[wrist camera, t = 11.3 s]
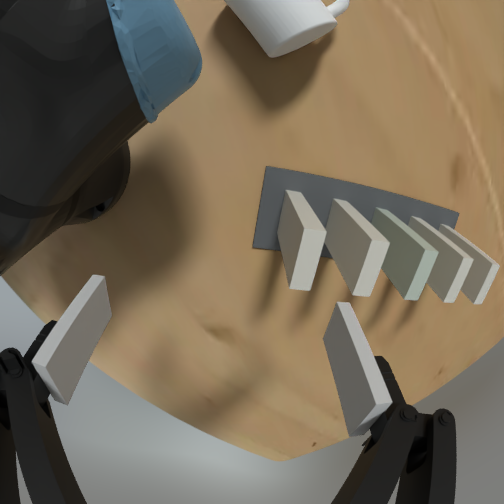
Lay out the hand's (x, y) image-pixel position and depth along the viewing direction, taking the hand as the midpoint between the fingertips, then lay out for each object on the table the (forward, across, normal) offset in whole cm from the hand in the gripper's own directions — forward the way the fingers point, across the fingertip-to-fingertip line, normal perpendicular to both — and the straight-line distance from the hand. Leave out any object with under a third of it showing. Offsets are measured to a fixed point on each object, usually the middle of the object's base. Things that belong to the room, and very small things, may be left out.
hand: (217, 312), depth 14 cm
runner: (+20, +18, -1) cm, 27 cm away
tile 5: (+20, +30, -1) cm, 36 cm away
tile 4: (+20, +24, -1) cm, 31 cm away
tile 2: (+20, +12, -1) cm, 23 cm away
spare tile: (+20, +18, -1) cm, 27 cm away
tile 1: (+20, +7, -1) cm, 21 cm away
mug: (+21, +3, +24) cm, 32 cm away
